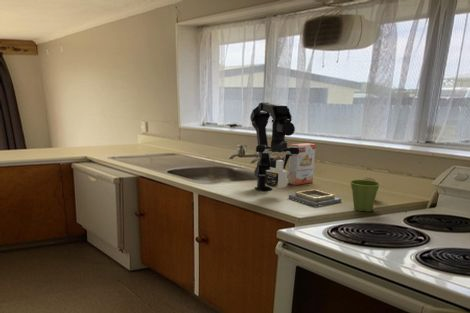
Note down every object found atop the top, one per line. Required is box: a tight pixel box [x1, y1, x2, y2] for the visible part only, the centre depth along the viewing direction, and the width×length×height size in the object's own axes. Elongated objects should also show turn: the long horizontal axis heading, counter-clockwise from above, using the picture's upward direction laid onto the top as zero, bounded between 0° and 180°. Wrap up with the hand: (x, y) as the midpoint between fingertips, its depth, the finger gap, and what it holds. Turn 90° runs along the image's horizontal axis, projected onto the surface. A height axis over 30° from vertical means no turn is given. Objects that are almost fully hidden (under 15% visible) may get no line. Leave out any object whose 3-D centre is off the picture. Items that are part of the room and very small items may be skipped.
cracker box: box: [287, 142, 316, 186], centre depth 204 cm, size 14×6×21 cm, turn 129°
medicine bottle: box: [265, 158, 289, 189], centre depth 173 cm, size 7×7×12 cm
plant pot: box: [349, 179, 381, 213], centre depth 158 cm, size 12×12×11 cm
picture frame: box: [288, 188, 342, 207], centre depth 171 cm, size 16×16×3 cm
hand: (276, 168), depth 173 cm, fingers closed on medicine bottle, 6 cm apart
